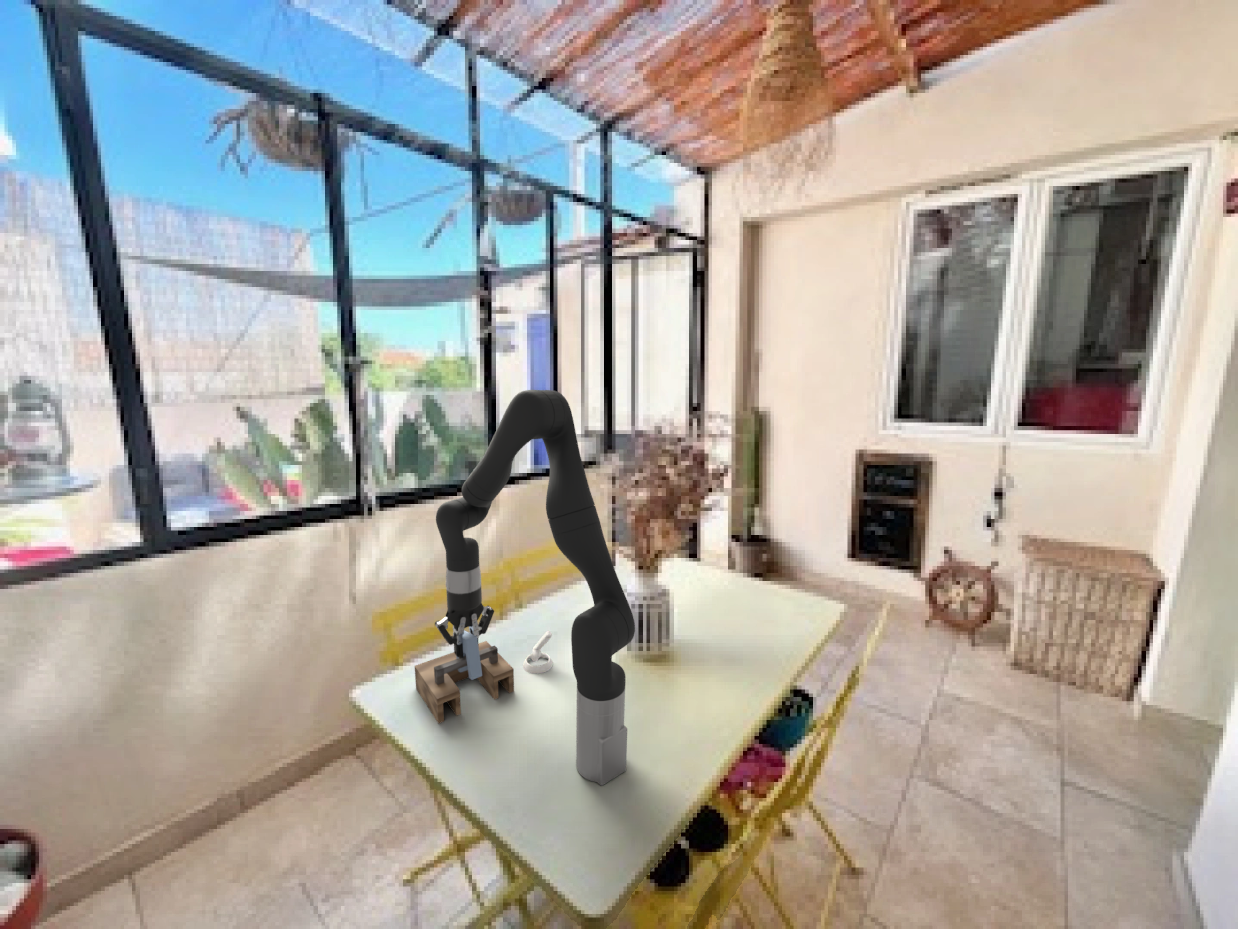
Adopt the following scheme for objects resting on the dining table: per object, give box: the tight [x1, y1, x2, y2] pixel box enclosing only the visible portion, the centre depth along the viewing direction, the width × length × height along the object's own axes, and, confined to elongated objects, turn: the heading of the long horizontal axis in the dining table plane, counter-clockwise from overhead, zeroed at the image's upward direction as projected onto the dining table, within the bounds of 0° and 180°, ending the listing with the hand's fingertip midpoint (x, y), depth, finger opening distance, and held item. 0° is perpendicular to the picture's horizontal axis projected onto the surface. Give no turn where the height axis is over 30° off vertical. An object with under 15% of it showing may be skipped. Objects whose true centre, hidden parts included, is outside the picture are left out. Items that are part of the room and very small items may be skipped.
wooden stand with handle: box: [414, 640, 515, 725], centre depth 119 cm, size 15×18×10 cm
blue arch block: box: [456, 629, 482, 681], centre depth 116 cm, size 8×2×9 cm, turn 39°
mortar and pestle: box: [522, 630, 554, 675], centre depth 130 cm, size 8×12×7 cm
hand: (466, 654), depth 116 cm, fingers closed on blue arch block, 2 cm apart
